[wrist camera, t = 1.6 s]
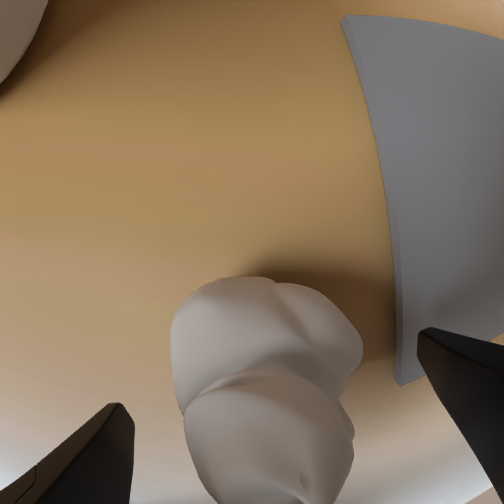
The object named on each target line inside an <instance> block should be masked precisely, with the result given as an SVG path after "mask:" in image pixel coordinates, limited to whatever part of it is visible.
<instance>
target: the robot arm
mask: <svg viewBox="0 0 504 504" xmlns="http://www.w3.org/2000/svg"><path fill="white" fill-rule="evenodd" d="M417 358H418V360H419V362H420V364H421V366H422V368H423V370H424V372H425V373H426V375H427V377H428V379H429V381H430V383H431V385H432V387H433V389H434V391H435V392H436V394H437V396H438V398H439V399H440V401H441V402H442V404H443V405H444V407H445V408H446V410H447V411H448V413H449V414H450V416H451V417H452V419H453V420H454V422H455V424H456V425H457V427H458V428H459V430H460V431H461V433H462V434H463V436H464V438H465V439H466V441H467V442H468V444H469V446H470V447H471V449H472V450H473V452H474V454H475V455H476V457H477V459H478V460H479V462H480V464H481V465H482V467H483V469H484V471H485V472H486V474H487V476H488V477H489V479H490V481H491V483H492V484H493V486H494V488H495V490H496V492H497V494H498V496H499V498H500V499H501V501H502V503H503V504H504V346H503V345H499V344H495V343H491V342H488V341H484V340H480V339H476V338H472V337H468V336H465V335H461V334H457V333H453V332H449V331H446V330H442V329H438V328H435V327H427V328H425V329H423V330H420V331H419V333H418V338H417ZM134 436H135V424H134V421H133V419H132V418H131V416H130V415H129V413H128V412H127V410H126V409H125V407H124V406H123V404H121V403H119V402H117V403H109V404H107V405H106V406H105V407H104V408H102V409H101V410H100V411H99V412H98V413H97V414H95V415H94V416H93V417H92V418H91V419H90V420H88V421H87V422H86V423H85V424H84V425H83V426H81V427H80V428H79V429H78V430H77V431H76V432H74V433H73V434H72V435H71V436H70V437H68V438H67V439H66V440H65V441H64V442H62V443H61V444H60V445H59V446H58V447H57V448H55V449H54V450H53V451H52V452H51V453H49V454H48V455H47V456H46V457H45V458H43V459H42V460H41V461H40V462H39V463H37V465H35V466H34V467H32V468H31V469H30V470H29V471H27V472H26V473H25V474H24V475H22V476H21V477H20V478H19V479H17V480H16V481H14V482H13V483H11V484H10V485H8V486H7V487H5V488H4V489H2V490H1V491H0V504H129V500H130V491H131V483H132V475H133V465H134Z"/></svg>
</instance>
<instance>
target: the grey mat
mask: <svg viewBox="0 0 504 504" xmlns="http://www.w3.org/2000/svg"><path fill="white" fill-rule="evenodd" d="M340 23H341V26H342V28H343V31H344V34H345V37H346V39H347V42H348V45H349V48H350V51H351V54H352V57H353V60H354V63H355V66H356V69H357V72H358V76H359V79H360V82H361V86H362V89H363V93H364V97H365V100H366V104H367V108H368V112H369V116H370V120H371V124H372V128H373V133H374V137H375V142H376V146H377V151H378V156H379V161H380V166H381V172H382V178H383V183H384V190H385V196H386V203H387V210H388V218H389V226H390V235H391V244H392V255H393V268H394V284H395V309H396V355H395V380H396V381H397V382H398V384H399V385H400V386H402V385H405V384H407V383H409V382H411V381H414V380H416V379H418V378H420V377H423V376H425V375H426V373H425V372H424V370H423V368H422V366H421V364H420V362H419V360H418V358H417V338H418V333H419V331H420V330H423V329H425V328H427V327H435V328H438V329H442V330H446V331H449V332H453V333H457V334H461V335H465V336H468V337H472V338H476V339H480V340H484V341H490V340H492V339H493V338H495V337H496V336H498V335H500V334H501V333H503V332H504V40H501V39H498V38H495V37H492V36H489V35H485V34H482V33H478V32H474V31H470V30H466V29H462V28H458V27H453V26H449V25H444V24H438V23H433V22H427V21H420V20H413V19H405V18H396V17H384V16H369V15H346V16H345V17H344V18H343V19H342V20H341V22H340Z"/></svg>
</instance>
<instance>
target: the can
mask: <svg viewBox="0 0 504 504" xmlns="http://www.w3.org/2000/svg"><path fill="white" fill-rule="evenodd" d="M47 3H48V0H0V83H1V82H2V81H3V80H4V79H5V78H7V77H8V75H9V74H10V72H11V71H12V70H13V68H14V67H15V66H16V64H17V63H18V62H19V60H20V59H21V58H22V56H23V55H24V53H25V51H26V49H27V48H28V46H29V44H30V43H31V41H32V39H33V38H34V36H35V33H36V31H37V28H38V26H39V24H40V21H41V19H42V17H43V12H44V10H45V7H46V5H47Z"/></svg>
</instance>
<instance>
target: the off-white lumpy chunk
mask: <svg viewBox="0 0 504 504" xmlns="http://www.w3.org/2000/svg"><path fill="white" fill-rule="evenodd" d="M362 357H363V342H362V339H361V337H360V335H359V333H358V331H357V330H356V329H355V327H354V326H353V325H352V324H351V323H350V321H349V320H348V319H347V318H346V317H345V315H344V314H343V313H342V312H341V311H340V309H339V308H338V307H337V306H336V305H334V304H333V303H332V302H331V301H330V300H329V299H328V298H327V297H326V296H324V295H323V294H322V293H320V292H318V291H316V290H314V289H311V288H309V287H306V286H302V285H298V284H293V283H276V282H275V281H273V280H271V279H269V278H265V277H231V278H220V279H216V280H215V281H213V282H211V283H208V284H206V285H204V286H202V287H200V288H199V289H197V290H196V291H194V292H193V293H192V294H191V295H190V296H188V297H187V298H186V299H185V300H184V301H183V302H182V303H181V304H180V305H179V307H178V308H177V310H176V312H175V314H174V317H173V320H172V324H171V329H170V358H171V372H172V379H173V384H174V389H175V394H176V398H177V402H178V405H179V408H180V410H181V412H182V414H183V416H184V421H183V422H184V432H185V436H186V441H187V445H188V448H189V451H190V454H191V457H192V460H193V463H194V465H195V468H196V470H197V473H198V476H199V478H200V480H201V482H202V484H203V485H204V487H205V489H206V490H207V491H208V493H209V494H210V495H211V496H212V497H213V498H214V499H215V501H216V502H217V503H218V504H334V502H335V500H336V498H337V496H338V494H339V492H340V490H341V488H342V486H343V484H344V482H345V480H346V478H347V476H348V474H349V472H350V469H351V466H352V462H353V458H354V450H353V444H352V440H353V438H354V434H355V431H354V427H353V424H352V422H351V420H350V419H349V417H348V415H347V414H346V412H345V411H344V409H343V407H342V406H341V404H340V402H339V400H338V399H339V397H340V396H341V394H342V392H343V390H344V388H345V385H346V382H347V380H348V378H349V377H350V376H351V374H352V373H353V372H354V371H355V370H356V369H357V368H358V366H359V365H360V363H361V360H362Z"/></svg>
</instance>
